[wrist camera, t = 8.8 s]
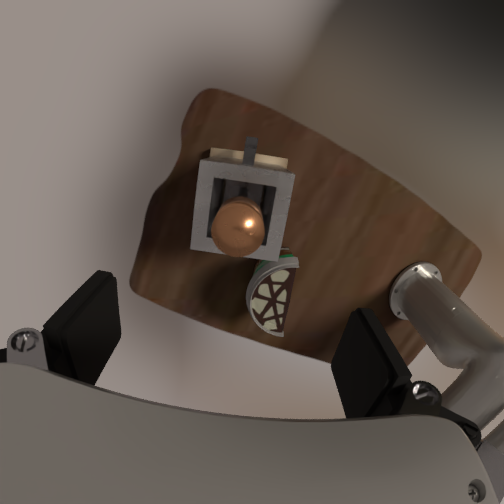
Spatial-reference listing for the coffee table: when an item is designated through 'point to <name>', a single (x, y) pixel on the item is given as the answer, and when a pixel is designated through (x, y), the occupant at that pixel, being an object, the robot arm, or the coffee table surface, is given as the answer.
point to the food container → (272, 291)
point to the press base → (240, 155)
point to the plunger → (239, 219)
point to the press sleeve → (246, 171)
